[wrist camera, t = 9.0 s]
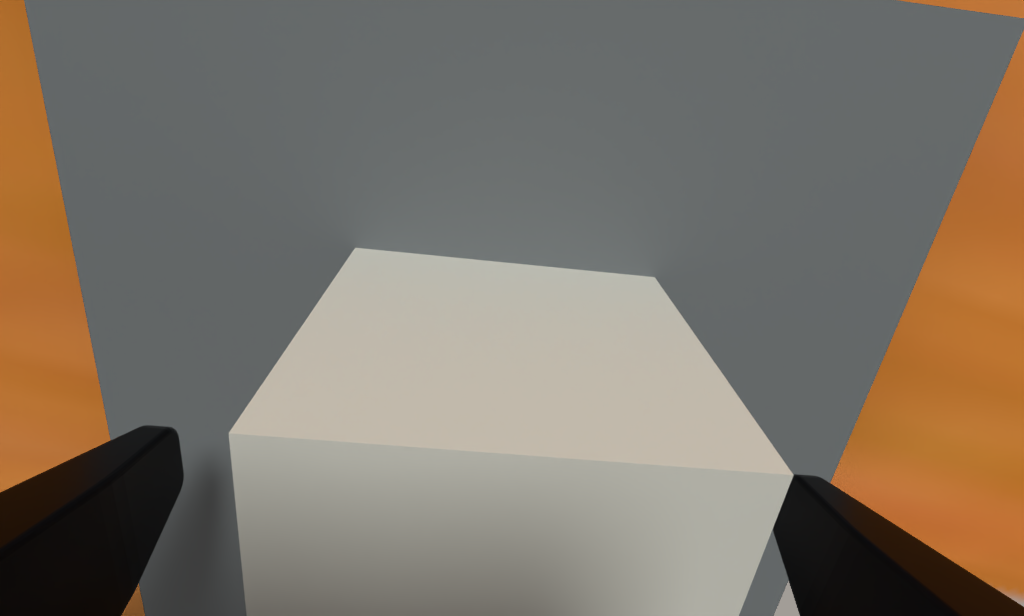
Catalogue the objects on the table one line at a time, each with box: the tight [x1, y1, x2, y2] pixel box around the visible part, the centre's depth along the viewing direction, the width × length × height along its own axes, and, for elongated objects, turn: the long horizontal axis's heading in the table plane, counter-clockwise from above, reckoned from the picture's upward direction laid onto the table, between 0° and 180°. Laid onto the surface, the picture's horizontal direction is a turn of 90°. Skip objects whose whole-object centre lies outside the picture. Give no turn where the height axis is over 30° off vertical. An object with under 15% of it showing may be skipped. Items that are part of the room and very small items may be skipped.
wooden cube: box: [229, 248, 793, 616], centre depth 8 cm, size 5×5×5 cm
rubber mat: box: [24, 0, 1024, 616], centre depth 11 cm, size 14×14×1 cm
